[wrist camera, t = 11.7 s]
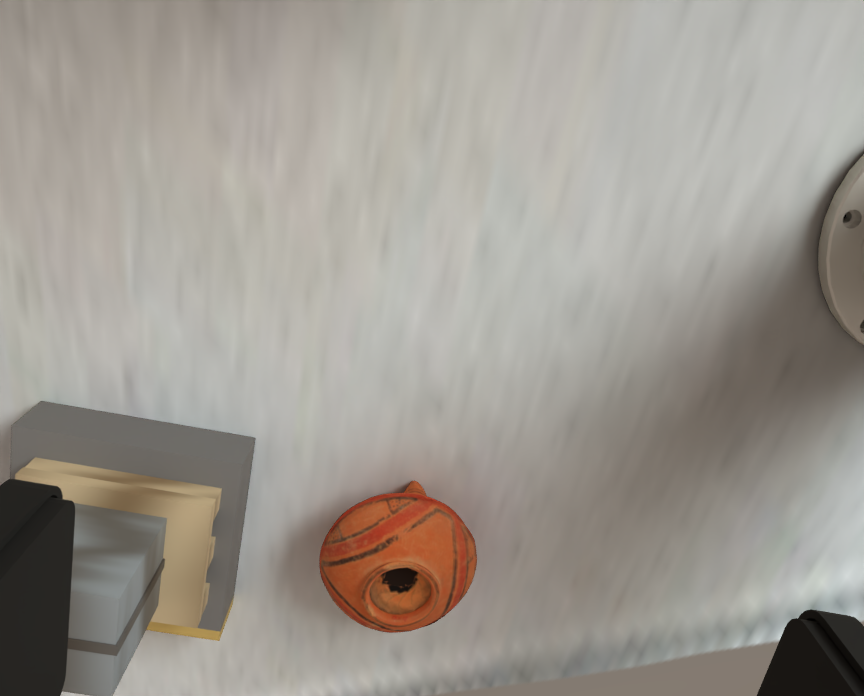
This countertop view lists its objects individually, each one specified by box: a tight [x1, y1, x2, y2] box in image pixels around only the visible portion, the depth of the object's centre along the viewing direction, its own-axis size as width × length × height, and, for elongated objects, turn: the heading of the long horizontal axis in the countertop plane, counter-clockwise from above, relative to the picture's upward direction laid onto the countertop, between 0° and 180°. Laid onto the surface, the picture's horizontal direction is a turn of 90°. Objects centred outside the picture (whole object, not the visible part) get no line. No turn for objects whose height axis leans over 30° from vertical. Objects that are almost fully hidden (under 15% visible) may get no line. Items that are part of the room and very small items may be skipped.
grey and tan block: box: [15, 457, 222, 696], centre depth 34 cm, size 9×7×8 cm
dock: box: [10, 401, 255, 641], centre depth 40 cm, size 11×11×3 cm
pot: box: [320, 481, 477, 632], centre depth 39 cm, size 8×8×7 cm
